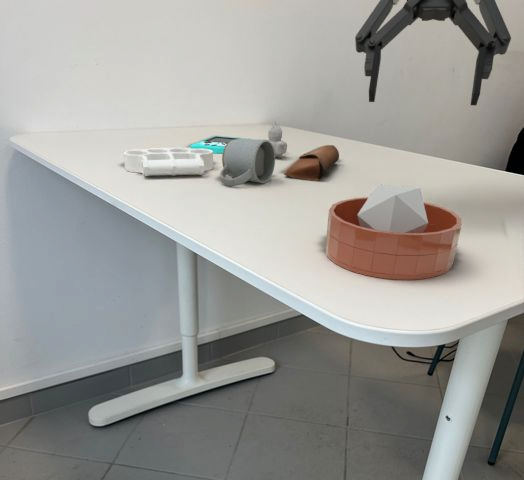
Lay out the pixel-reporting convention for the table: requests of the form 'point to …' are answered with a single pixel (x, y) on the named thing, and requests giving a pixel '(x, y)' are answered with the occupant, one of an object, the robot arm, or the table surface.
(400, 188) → the die
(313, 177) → the sunglasses case
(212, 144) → the handheld game console
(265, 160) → the ceramic mug
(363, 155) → the table surface
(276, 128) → the grey rounded figure
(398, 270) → the bowl
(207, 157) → the white compartment tray
